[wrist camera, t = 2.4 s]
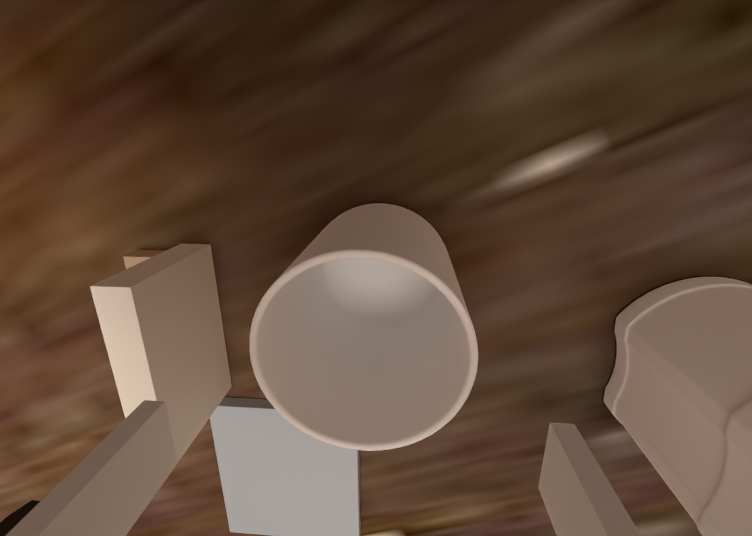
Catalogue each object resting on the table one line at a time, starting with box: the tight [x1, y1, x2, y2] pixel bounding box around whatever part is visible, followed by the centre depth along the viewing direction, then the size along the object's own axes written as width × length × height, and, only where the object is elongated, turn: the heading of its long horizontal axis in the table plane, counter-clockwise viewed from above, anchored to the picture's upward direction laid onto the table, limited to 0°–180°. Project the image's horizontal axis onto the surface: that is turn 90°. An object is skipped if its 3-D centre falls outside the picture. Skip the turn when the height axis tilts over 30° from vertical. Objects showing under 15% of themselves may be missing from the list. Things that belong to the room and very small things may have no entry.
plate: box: [210, 397, 361, 536], centre depth 30 cm, size 13×11×1 cm
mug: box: [250, 203, 478, 451], centre depth 20 cm, size 9×12×11 cm
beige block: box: [90, 243, 232, 462], centre depth 23 cm, size 11×5×8 cm, turn 0°
